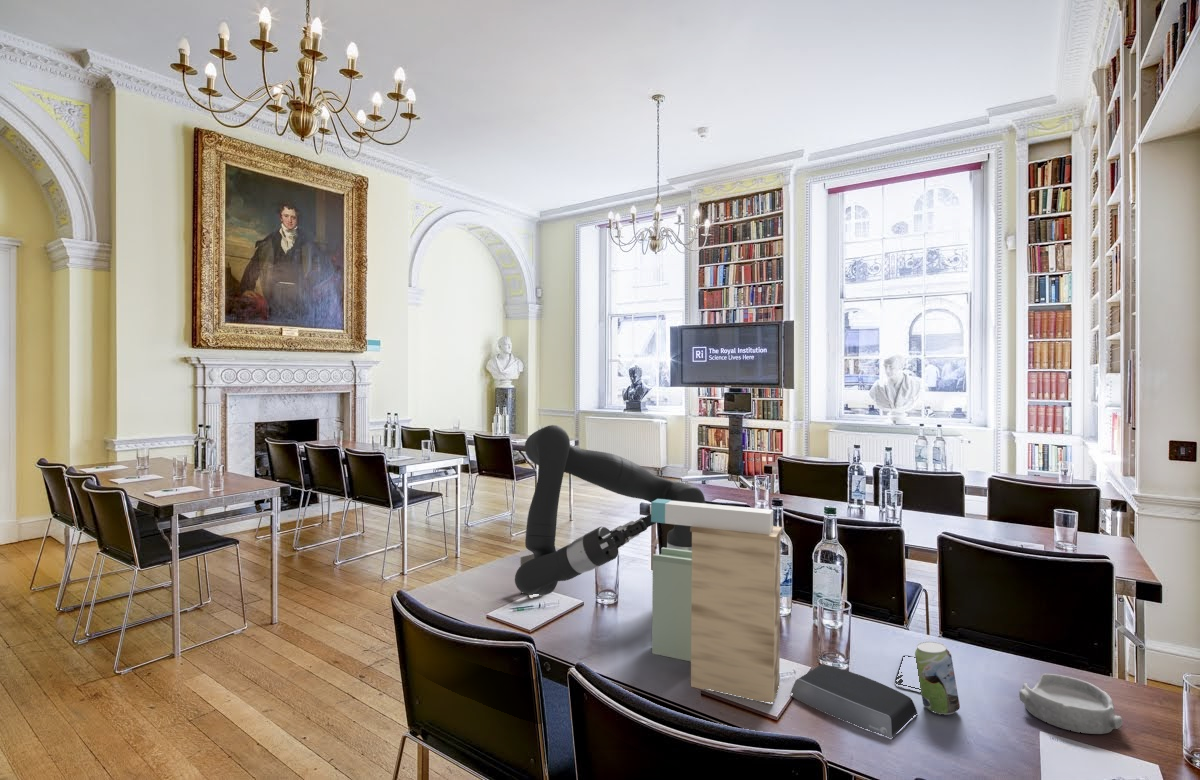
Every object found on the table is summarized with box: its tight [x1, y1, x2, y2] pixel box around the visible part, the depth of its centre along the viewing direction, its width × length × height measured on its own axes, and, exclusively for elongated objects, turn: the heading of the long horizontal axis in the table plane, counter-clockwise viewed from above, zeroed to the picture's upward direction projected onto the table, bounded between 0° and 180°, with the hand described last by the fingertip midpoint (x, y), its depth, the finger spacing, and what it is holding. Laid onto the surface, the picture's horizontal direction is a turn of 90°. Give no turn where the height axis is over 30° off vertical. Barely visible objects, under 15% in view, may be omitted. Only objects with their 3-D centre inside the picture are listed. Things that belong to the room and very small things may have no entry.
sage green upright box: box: [651, 546, 692, 662], centre depth 134 cm, size 7×12×22 cm, turn 65°
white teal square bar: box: [650, 499, 774, 535], centre depth 120 cm, size 4×24×4 cm, turn 65°
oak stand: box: [690, 525, 783, 703], centre depth 119 cm, size 9×17×32 cm, turn 65°
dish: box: [1018, 673, 1123, 735], centre depth 109 cm, size 14×14×5 cm
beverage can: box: [914, 641, 961, 716], centre depth 111 cm, size 6×7×12 cm
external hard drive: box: [790, 664, 918, 738], centre depth 113 cm, size 13×19×4 cm
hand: (652, 519), depth 126 cm, fingers open, 8 cm apart
